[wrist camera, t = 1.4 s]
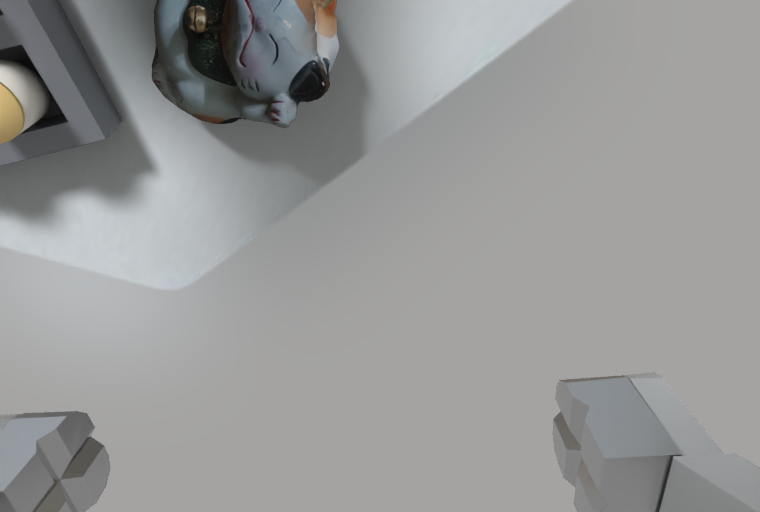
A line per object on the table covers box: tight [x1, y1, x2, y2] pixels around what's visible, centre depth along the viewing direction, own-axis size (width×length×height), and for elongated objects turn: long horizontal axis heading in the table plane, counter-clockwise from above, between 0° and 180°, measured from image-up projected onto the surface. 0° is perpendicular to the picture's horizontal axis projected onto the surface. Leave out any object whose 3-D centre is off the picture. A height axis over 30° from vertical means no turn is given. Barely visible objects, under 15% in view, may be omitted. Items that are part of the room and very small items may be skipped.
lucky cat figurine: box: [152, 0, 340, 128], centre depth 36 cm, size 15×12×14 cm
